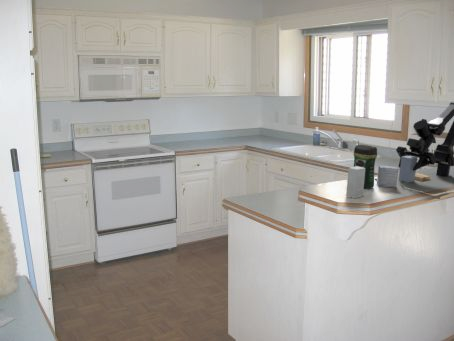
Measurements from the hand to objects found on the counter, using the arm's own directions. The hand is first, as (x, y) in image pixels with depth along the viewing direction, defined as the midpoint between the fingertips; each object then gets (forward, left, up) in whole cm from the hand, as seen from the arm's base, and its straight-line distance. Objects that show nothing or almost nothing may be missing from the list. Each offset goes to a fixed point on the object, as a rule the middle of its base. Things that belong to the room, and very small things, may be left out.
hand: (406, 168), depth 227 cm
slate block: (-1, 0, -7) cm, 7 cm away
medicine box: (+14, 0, -7) cm, 15 cm away
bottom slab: (-11, 0, -7) cm, 14 cm away
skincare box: (+42, +5, -7) cm, 42 cm away
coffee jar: (+26, -4, -7) cm, 27 cm away
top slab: (-11, 0, -6) cm, 13 cm away
